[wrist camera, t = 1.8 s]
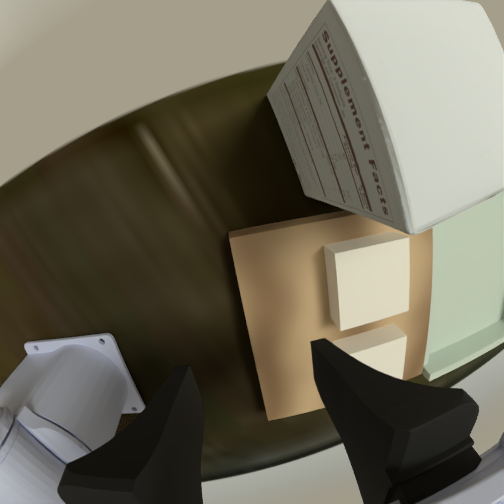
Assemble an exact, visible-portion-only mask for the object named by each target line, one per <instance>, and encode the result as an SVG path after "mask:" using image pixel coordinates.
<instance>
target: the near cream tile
mask: <svg viewBox="0 0 504 504" xmlns="http://www.w3.org/2000/svg"><path fill="white" fill-rule="evenodd" d="M324 254H325V263H326V273H327V283H328V294H329V306H330V317H331V318H332V320H333V321H334V323H335V324H336V325H337V327H338V328H339V330H340V331H343V330H346V329H350V328H354V327H357V326H361V325H364V324H367V323H371V322H374V321H378V320H381V319H384V318H387V317H391V316H394V315H397V314H400V313H403V312H406V311H409V287H410V250H409V237H407V236H405V235H402V234H400V233H397V232H395V231H390V232H385V233H380V234H375V235H370V236H365V237H361V238H356V239H351V240H346V241H341V242H336V243H331V244H326V245H324Z"/></svg>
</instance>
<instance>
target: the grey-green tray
mask: <svg viewBox="0 0 504 504" xmlns="http://www.w3.org/2000/svg"><path fill="white" fill-rule="evenodd" d="M503 342H504V191H503V192H501V193H500V194H498V195H496V196H495V197H494V198H491V199H489V200H487V201H485V202H482V203H480V204H478V205H476V206H474V207H472V208H470V209H468V210H466V211H464V212H462V213H460V214H458V215H456V216H454V217H452V218H450V219H448V220H446V221H444V222H442V223H440V224H438V225H436V226H434V227H433V270H432V293H431V307H430V319H429V328H428V337H427V345H426V353H425V359H424V366H423V372H422V374H423V375H424V376H425V377H426V378H427V380H428V381H431V380H433V379H435V378H437V377H439V376H441V375H444V374H446V373H448V372H450V371H452V370H454V369H456V368H458V367H460V366H462V365H464V364H466V363H467V362H469V361H471V360H473V359H475V358H477V357H479V356H480V355H482V354H484V353H486V352H487V351H489V350H491V349H493V348H494V347H496V346H498V345H499V344H501V343H503Z"/></svg>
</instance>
